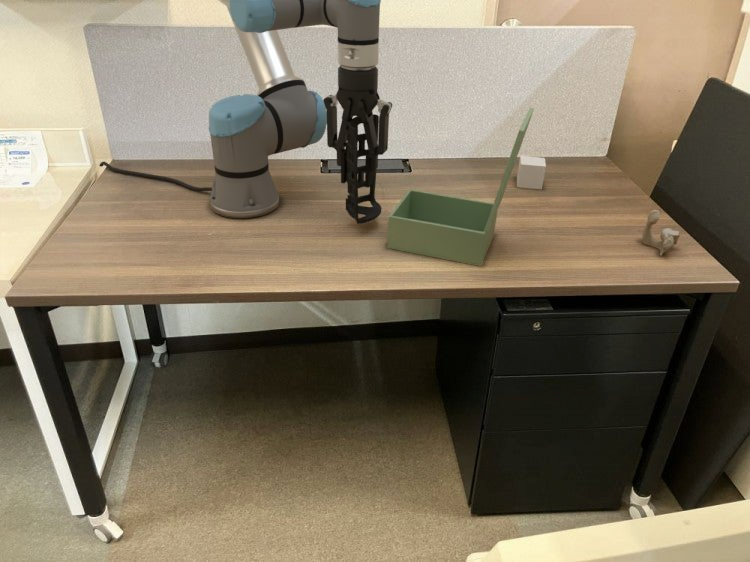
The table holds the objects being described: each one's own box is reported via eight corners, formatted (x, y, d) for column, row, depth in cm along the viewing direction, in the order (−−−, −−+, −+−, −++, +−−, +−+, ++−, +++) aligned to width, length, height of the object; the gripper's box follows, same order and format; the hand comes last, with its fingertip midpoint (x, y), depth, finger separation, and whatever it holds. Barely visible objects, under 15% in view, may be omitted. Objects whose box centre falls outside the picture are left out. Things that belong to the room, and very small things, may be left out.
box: (387, 248, 122) (388, 216, 118) (407, 218, 133) (409, 189, 129) (481, 266, 116) (485, 233, 113) (494, 234, 128) (498, 204, 124)
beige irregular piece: (696, 251, 120) (683, 213, 116) (667, 268, 121) (653, 230, 116) (670, 234, 128) (657, 197, 123) (643, 250, 129) (629, 214, 124)
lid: (519, 129, 101) (523, 131, 101) (530, 107, 112) (534, 108, 112) (484, 231, 112) (488, 232, 112) (497, 201, 124) (500, 202, 124)
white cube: (516, 178, 155) (520, 155, 151) (540, 180, 154) (544, 157, 151) (517, 187, 150) (520, 164, 146) (541, 189, 149) (546, 166, 146)
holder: (376, 227, 123) (377, 131, 112) (339, 223, 124) (338, 128, 113) (384, 204, 132) (387, 113, 121) (351, 201, 133) (350, 111, 122)
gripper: (306, 65, 111) (310, 182, 124) (397, 75, 107) (391, 196, 119) (322, 57, 117) (324, 170, 130) (409, 66, 113) (403, 182, 125)
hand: (357, 182), depth 124 cm, fingers closed on holder, 5 cm apart
